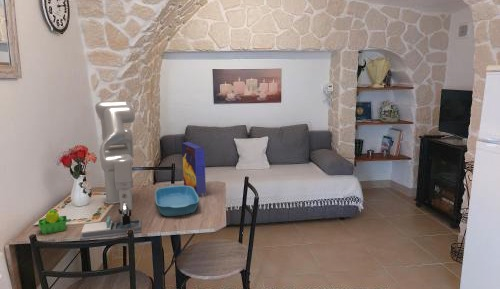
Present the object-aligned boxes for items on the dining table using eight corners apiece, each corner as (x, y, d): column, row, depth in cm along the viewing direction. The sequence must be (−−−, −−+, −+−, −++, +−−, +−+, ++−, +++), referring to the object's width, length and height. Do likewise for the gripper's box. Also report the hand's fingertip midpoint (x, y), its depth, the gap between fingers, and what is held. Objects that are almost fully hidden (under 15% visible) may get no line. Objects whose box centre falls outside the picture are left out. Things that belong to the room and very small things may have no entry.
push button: (134, 224, 168) (132, 204, 166) (135, 228, 163) (133, 207, 161) (119, 226, 165) (117, 206, 163) (120, 230, 160) (118, 210, 159)
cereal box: (184, 188, 224) (181, 142, 219) (192, 187, 227) (191, 141, 222) (196, 198, 206) (194, 148, 200) (205, 196, 209) (204, 147, 203)
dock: (85, 228, 165) (84, 224, 164) (141, 221, 172) (141, 217, 171) (79, 240, 153) (79, 235, 152) (141, 232, 159) (140, 228, 159)
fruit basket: (67, 225, 169) (65, 202, 167) (67, 231, 161) (65, 208, 159) (40, 229, 164) (37, 207, 162) (39, 237, 156) (36, 213, 154)
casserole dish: (202, 216, 178) (202, 203, 177) (157, 222, 172) (156, 208, 171) (192, 194, 213) (191, 183, 212) (154, 198, 207) (153, 187, 205)
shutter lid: (84, 225, 163) (84, 217, 162) (112, 222, 166) (111, 214, 165) (81, 233, 154) (80, 225, 153) (110, 230, 157) (109, 222, 157)
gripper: (132, 189, 153) (135, 226, 156) (133, 178, 169) (136, 212, 172) (114, 190, 151) (117, 228, 154) (117, 180, 167) (120, 214, 170)
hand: (127, 219), depth 163 cm, fingers open, 9 cm apart
